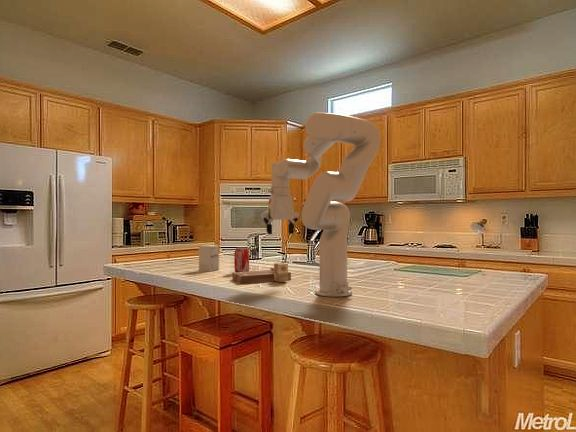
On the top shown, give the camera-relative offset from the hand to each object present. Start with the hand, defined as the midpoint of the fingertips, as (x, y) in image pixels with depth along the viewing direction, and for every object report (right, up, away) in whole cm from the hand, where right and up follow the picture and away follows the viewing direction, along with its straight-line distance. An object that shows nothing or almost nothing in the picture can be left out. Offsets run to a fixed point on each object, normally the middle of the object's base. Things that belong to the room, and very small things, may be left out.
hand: (280, 233), depth 152 cm
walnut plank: (-8, -20, +6) cm, 22 cm away
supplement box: (-37, -20, +35) cm, 55 cm away
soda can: (-19, -20, +26) cm, 38 cm away
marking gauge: (-1, -19, +3) cm, 19 cm away
